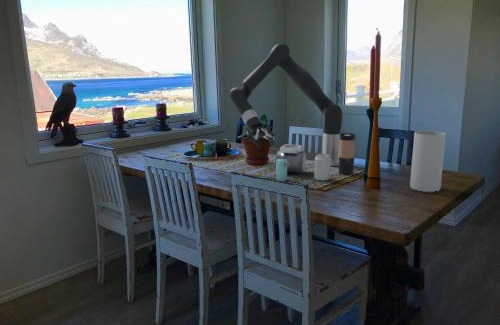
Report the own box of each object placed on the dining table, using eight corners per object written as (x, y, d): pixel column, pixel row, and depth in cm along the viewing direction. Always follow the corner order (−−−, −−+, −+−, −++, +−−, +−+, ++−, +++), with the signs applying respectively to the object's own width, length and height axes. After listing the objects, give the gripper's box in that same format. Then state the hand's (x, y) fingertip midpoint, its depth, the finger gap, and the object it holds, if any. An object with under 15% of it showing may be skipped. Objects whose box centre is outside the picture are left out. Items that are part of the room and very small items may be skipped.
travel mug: (354, 172, 214) (356, 133, 209) (351, 175, 207) (353, 136, 203) (340, 170, 217) (341, 132, 213) (336, 174, 210) (338, 135, 206)
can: (331, 177, 204) (331, 153, 201) (328, 181, 197) (329, 157, 194) (315, 176, 207) (316, 152, 204) (312, 180, 200) (313, 156, 197)
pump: (273, 179, 202) (273, 159, 199) (281, 178, 205) (281, 158, 202) (285, 183, 195) (285, 162, 193) (293, 181, 199) (293, 160, 196)
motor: (305, 170, 218) (306, 145, 215) (300, 175, 208) (300, 149, 205) (281, 168, 223) (281, 143, 220) (275, 173, 213) (275, 147, 210)
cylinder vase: (437, 194, 177) (443, 136, 171) (407, 190, 184) (411, 133, 178) (442, 187, 187) (447, 132, 182) (413, 183, 194) (417, 129, 188)
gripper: (243, 117, 205) (258, 143, 199) (266, 114, 214) (281, 139, 208) (237, 126, 210) (252, 152, 204) (259, 123, 219) (273, 148, 213)
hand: (266, 146), depth 206 cm, fingers open, 8 cm apart
